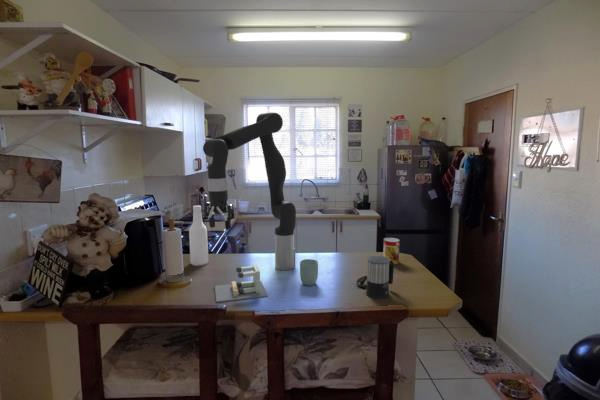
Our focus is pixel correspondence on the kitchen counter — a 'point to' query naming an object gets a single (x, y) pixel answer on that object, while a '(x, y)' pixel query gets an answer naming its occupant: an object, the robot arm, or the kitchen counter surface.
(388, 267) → the milk frother
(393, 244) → the canned food
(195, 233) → the alcohol
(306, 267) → the cup
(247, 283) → the pale mint angular piece
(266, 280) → the kitchen counter surface
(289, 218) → the robot arm
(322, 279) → the kitchen counter surface
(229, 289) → the mat
